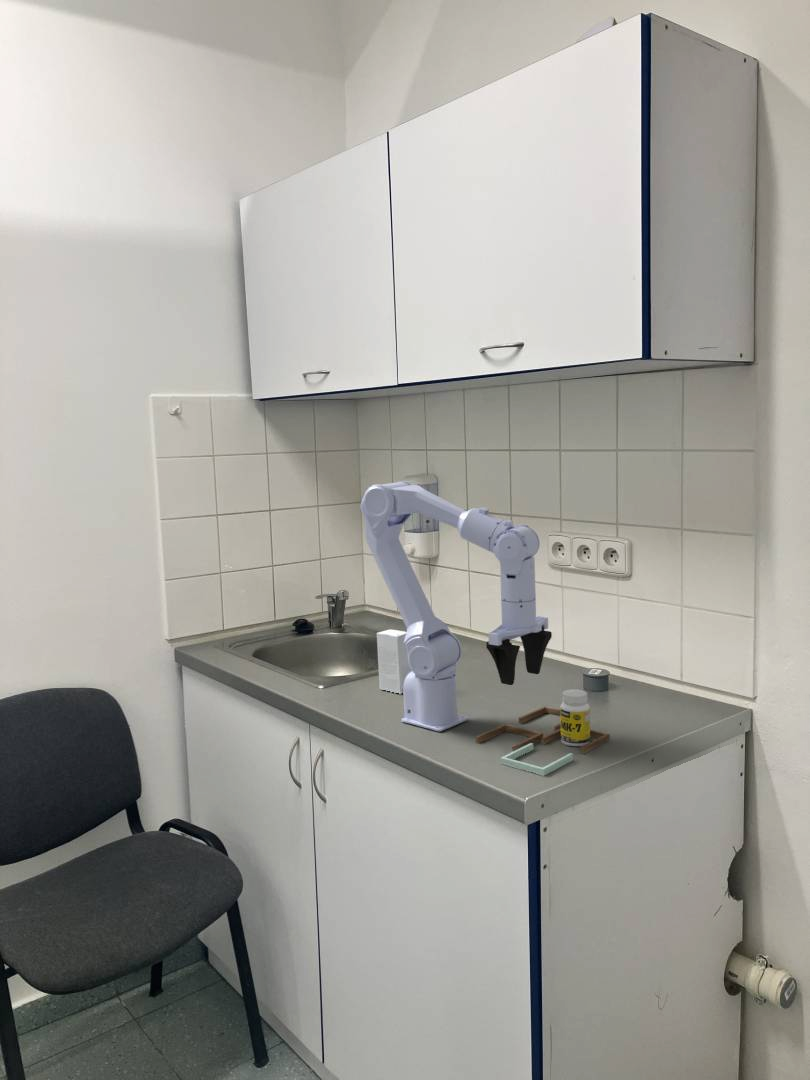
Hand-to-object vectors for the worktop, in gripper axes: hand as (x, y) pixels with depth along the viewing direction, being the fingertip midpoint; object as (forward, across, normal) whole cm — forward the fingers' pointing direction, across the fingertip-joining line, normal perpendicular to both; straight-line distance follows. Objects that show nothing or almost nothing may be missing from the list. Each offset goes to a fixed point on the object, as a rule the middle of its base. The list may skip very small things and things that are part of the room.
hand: (520, 678), depth 149 cm
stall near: (+10, -4, 0) cm, 11 cm away
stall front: (+10, +2, -9) cm, 14 cm away
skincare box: (+10, +7, +36) cm, 38 cm away
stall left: (+10, +8, 0) cm, 13 cm away
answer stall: (+10, -9, -9) cm, 16 cm away
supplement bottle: (+10, +2, -9) cm, 14 cm away
